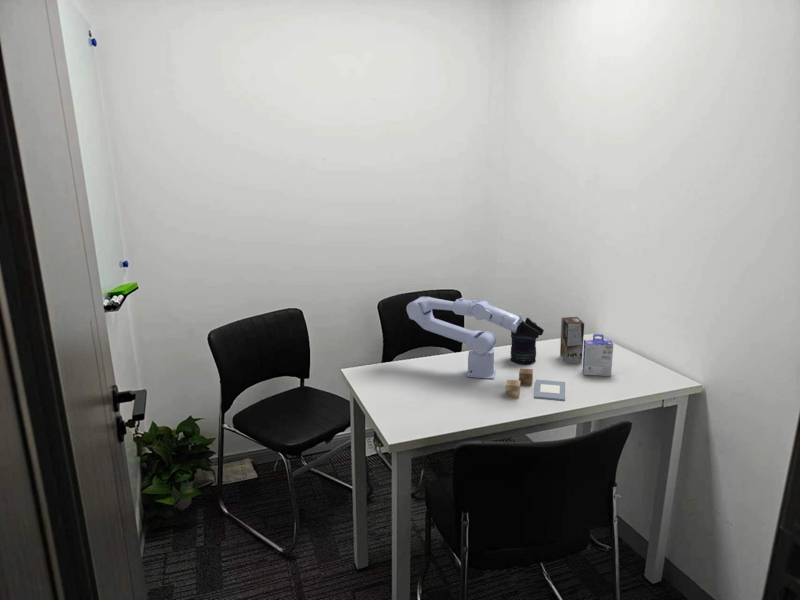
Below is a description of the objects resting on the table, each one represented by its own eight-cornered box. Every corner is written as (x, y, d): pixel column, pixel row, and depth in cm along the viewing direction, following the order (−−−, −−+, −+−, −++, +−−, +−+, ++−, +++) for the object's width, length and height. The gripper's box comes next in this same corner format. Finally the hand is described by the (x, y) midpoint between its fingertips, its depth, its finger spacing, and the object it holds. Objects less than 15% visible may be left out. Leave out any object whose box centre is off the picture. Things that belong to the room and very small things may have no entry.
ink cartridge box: (609, 370, 199) (612, 333, 195) (612, 376, 194) (614, 338, 190) (581, 369, 201) (583, 332, 197) (583, 375, 196) (585, 337, 192)
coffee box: (582, 363, 206) (585, 323, 202) (565, 363, 206) (567, 324, 202) (575, 354, 215) (577, 316, 211) (559, 355, 215) (561, 316, 211)
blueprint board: (533, 397, 179) (533, 396, 179) (536, 381, 192) (536, 379, 192) (565, 400, 176) (565, 398, 176) (565, 383, 189) (565, 381, 189)
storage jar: (540, 363, 208) (541, 326, 204) (517, 366, 206) (517, 329, 202) (528, 354, 217) (529, 319, 213) (506, 357, 215) (506, 321, 211)
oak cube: (505, 397, 181) (505, 384, 180) (506, 391, 185) (507, 379, 184) (519, 398, 180) (519, 386, 178) (520, 392, 184) (520, 380, 182)
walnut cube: (518, 384, 190) (519, 373, 189) (519, 379, 194) (520, 368, 193) (531, 385, 189) (532, 374, 187) (532, 380, 193) (532, 369, 192)
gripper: (503, 310, 183) (541, 325, 178) (513, 307, 196) (548, 321, 191) (496, 329, 184) (533, 344, 179) (506, 325, 197) (541, 339, 192)
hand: (540, 334), depth 185 cm, fingers open, 7 cm apart
